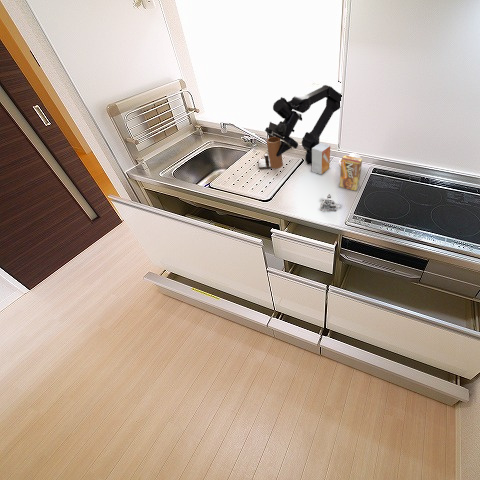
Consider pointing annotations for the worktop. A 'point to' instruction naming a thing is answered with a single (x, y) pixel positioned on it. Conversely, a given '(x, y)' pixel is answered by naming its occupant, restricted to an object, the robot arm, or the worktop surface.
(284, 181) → the worktop surface
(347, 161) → the candy box
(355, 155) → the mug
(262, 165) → the holder
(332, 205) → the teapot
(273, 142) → the brown hollow cylinder
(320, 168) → the small box
